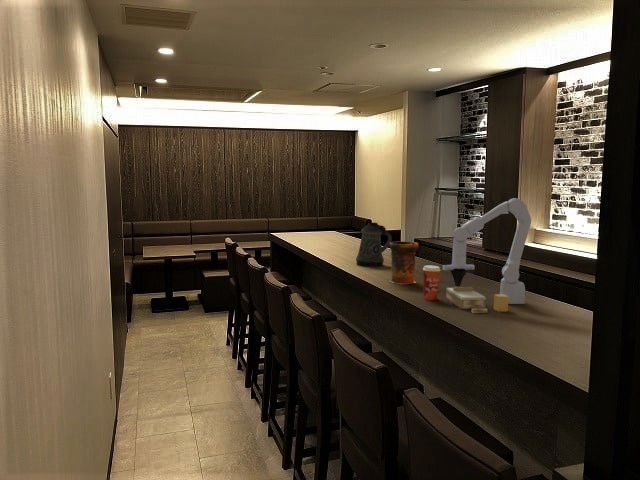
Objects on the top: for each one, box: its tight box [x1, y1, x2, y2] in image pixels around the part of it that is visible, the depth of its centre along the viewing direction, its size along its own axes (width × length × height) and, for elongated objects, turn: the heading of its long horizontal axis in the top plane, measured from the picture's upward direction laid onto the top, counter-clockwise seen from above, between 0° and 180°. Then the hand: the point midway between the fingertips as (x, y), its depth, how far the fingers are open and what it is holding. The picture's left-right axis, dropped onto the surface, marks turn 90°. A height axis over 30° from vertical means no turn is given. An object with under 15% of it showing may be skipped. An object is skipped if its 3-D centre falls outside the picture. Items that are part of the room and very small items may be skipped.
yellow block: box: [493, 293, 509, 312], centre depth 211 cm, size 4×4×6 cm
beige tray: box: [445, 290, 488, 314], centre depth 217 cm, size 10×25×4 cm, turn 6°
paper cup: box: [422, 265, 442, 301], centre depth 228 cm, size 8×8×14 cm
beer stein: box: [355, 222, 392, 268], centre depth 313 cm, size 16×19×25 cm
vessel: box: [388, 241, 419, 285], centre depth 262 cm, size 14×14×20 cm
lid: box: [446, 286, 487, 300], centre depth 220 cm, size 10×18×3 cm, turn 6°
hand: (457, 286), depth 230 cm, fingers closed
